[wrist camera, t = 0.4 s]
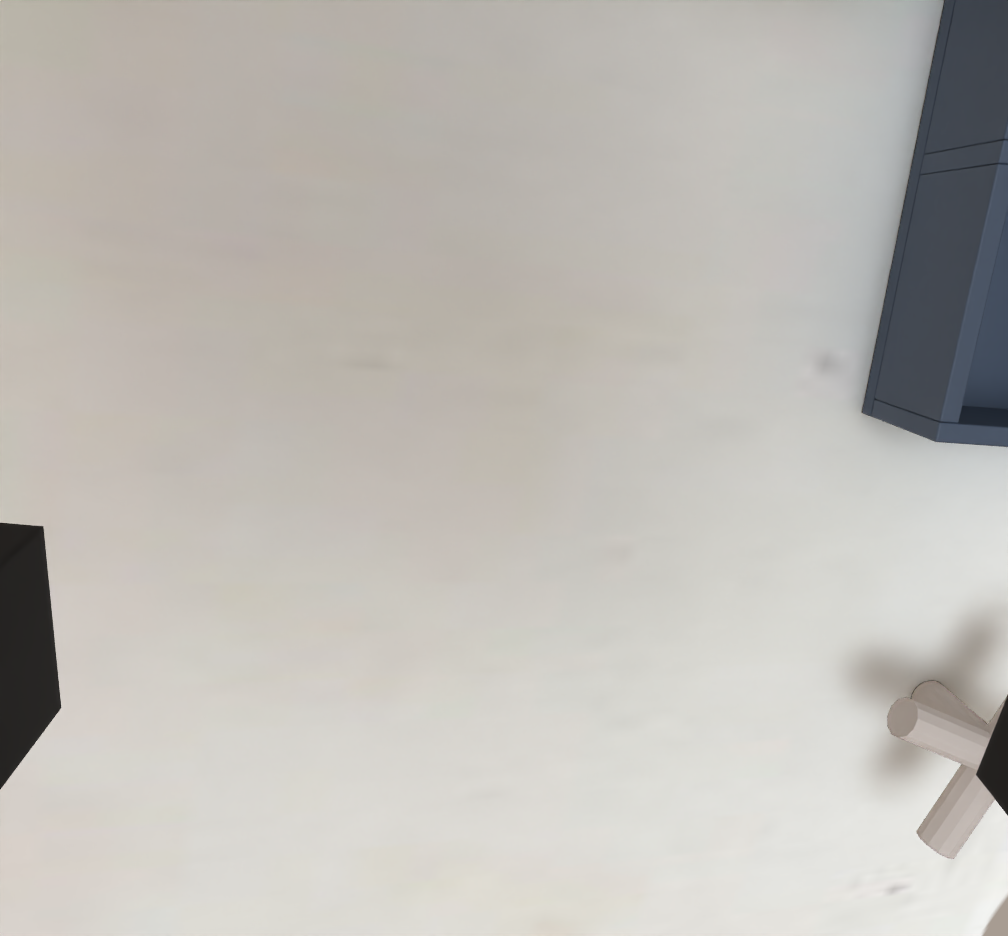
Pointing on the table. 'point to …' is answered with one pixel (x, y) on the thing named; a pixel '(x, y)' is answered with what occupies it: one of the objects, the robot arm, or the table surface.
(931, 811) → the pipe connector
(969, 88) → the divided storage bin
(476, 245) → the table surface
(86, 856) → the table surface
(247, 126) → the table surface
